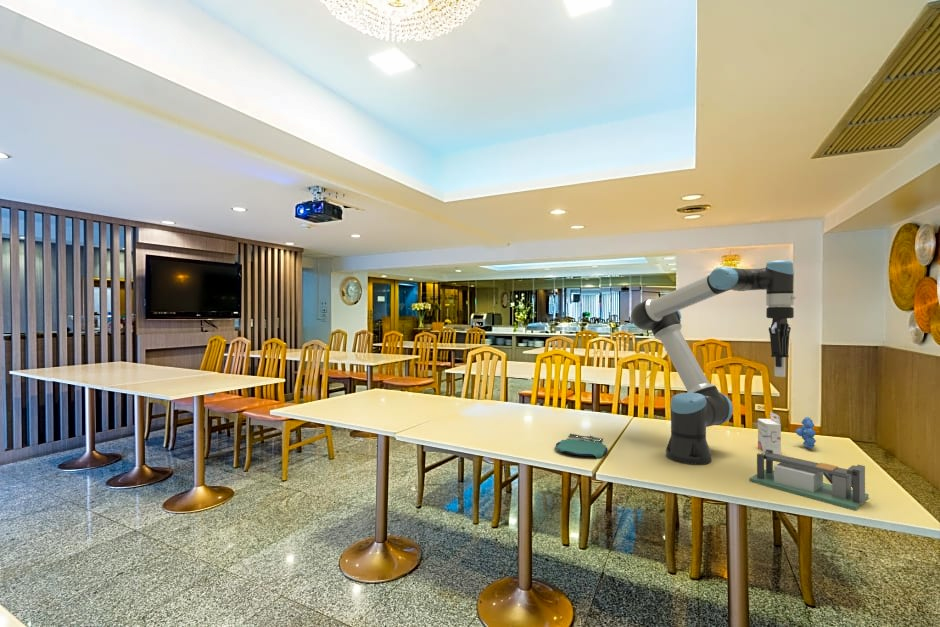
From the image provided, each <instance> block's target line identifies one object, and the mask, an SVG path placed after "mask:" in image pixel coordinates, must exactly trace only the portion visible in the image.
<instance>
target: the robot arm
mask: <svg viewBox="0 0 940 627" xmlns="http://www.w3.org/2000/svg"><path fill="white" fill-rule="evenodd" d="M794 275H795V271H794V263H793V262H792V261H791V260H786V259H782V260H781V259H780V260H779V259H778V260H771V261H768V262H766V266H765V267H762V268H752V269H751V268H737V267H729V266H723V267H722V266H720V267H717V268H715V269H713V270H712V271H711V272H710V273H709V275H706V276H705V277H702V278H699V279H697V280H694V281H693V282H690V283H688V284H686V285H685V286H682V287H679V288H677V289H675V290H672V291H671V292H668V293H666V294H664V295H660V296H659V297H657V298H655V299H654V298H649V299H646V300H643V301H642V302H640V303H638V304H636V305H635V306H634V307H633V309H632V310H631V314H630V317H631V320H632V323H633V324H634V326H635V327H636V328H638V329H639V330H644V331H651V333H652V335H653V337H654V338H655V339H658V340H660V342H661V343H662V345H663V347H664V349H665V351H666V353H667V355H668V357H669V359H670V361H671V363H672V364H673V367H674V368H675V370H676V372H677V374H678V376H679V378H680V380H681V383H682V384H683V385H684V388H685V390H686V392H681V393H677V394H673V396H672V397H671V399H670V400H671V402H670V406H669V407H670V437H669V441H668V443H667V446H666V448H665V456H666V457H667V458H668V459H670V460H672V461H675V462H678V463H683V464H688V465H708V464H710V463H712V453H711V450H710V448H709V447H710V446H709V444H708V441H707V429H706V428H709V427H712V426H719V425H722V424H724V423H726V422H728V421H729V420H730V419H731V417H732V416H733V413H734V406H733V403H732V401H731V399H730V398H729V397H728V396H727V395H725V394H723V393H721V392H720V391H719V389H718V387H717V386H716V384H712V383H710V381H709V380H708V379H707V376H706V375H705V373H704V371H703V370H702V368H701V366H700V364H699V362H698V360H697V359H696V356H695V355H694V353H693V351H692V350H691V347H690V346H689V344H688V342H687V341H686V339H685V336H684V335H683V333H682V331H681V330H682V327H683V326H682V324H681V322H682V320H681V319H682V315H681V311H680V310H682V309H685V308H688V307H690V306H694V305H695V304H697V303H700V302H703V301H705V300H707V299H711V298H713V297H716V296H717V295H721V294H723V293H725V292H728V291H735V292H746V291H759V290H760V291H761V290H763V291H766V294H765V297H766V298H765V299H766V300H765V303H766V306H767V308H766V311H765V312H766V313H765V314H766V316H765V317H766V318H767V319H772V321H771V324H770V326H769V327H768V332H769V340H770V351H771V355H770V356H771V358H774V361H773V362H774V368H773V369H774V377H779V378H780V377H781V378H786V358H790V357H789V346H790V344H789V343H790V333H791V330H792V328H791V326H790V325H789V322H788V319H793V318H794V317H795V316H794V313H795V311H794V307H792V306H793V305H794V300H796V296H794V282H795V281H794Z"/></svg>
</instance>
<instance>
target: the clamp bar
mask: <svg viewBox="0 0 940 627" xmlns="http://www.w3.org/2000/svg"><path fill="white" fill-rule="evenodd" d="M760 454H763V455H764V460H766V459H767V460H772V461H773V462H776V463H785V464H789V465H794V466H798V467H802V468H807V469H811V470H816V471H820V472H824V473H829V474H833V475H837V476H842V477H847V476H849V475H850V474H847V468H842V467H838V466H839V465H834V464H829V463H824V462H816V461H810V460H807V459H801V458H796V457H791V456H789V455H788V456H787V455H783V454H781V455H779V454H774V453H770V452H769V451H765V452H764V451H762V452H761V453H760Z"/></svg>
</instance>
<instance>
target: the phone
mask: <svg viewBox="0 0 940 627" xmlns="http://www.w3.org/2000/svg"><path fill="white" fill-rule="evenodd" d="M832 475H833V474H829V473H824V472H823V477H825V478H826V479H827V480H828V482H829V483H830V485H832ZM851 487H852V488H851V489H853V475H851Z"/></svg>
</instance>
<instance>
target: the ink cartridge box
mask: <svg viewBox="0 0 940 627" xmlns="http://www.w3.org/2000/svg"><path fill="white" fill-rule="evenodd" d="M769 415H770V418H757V448H758V449H760V450H761V451H762V452H765V451H766V449H769V450H773V453H774V454H779V455H782V451H781V450H782V438H781V436H782V434H781V433H782V430H781V427H782V425H781V417H780V416H779V415H778V414H777V413H774V412H772V411H769Z"/></svg>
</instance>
